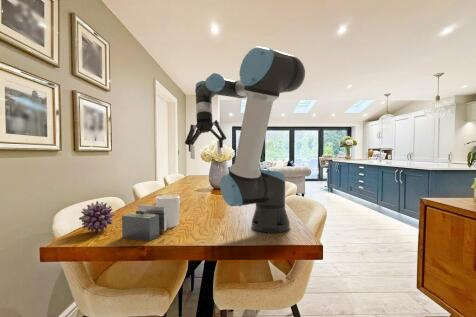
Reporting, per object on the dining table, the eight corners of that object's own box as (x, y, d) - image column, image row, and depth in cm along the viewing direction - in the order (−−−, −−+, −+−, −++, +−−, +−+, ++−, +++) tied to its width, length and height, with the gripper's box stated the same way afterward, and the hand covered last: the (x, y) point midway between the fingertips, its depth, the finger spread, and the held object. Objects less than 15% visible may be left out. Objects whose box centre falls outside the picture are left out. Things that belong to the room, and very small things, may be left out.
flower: (116, 233, 91) (115, 202, 91) (78, 239, 85) (77, 205, 84) (114, 225, 101) (113, 197, 101) (80, 230, 95) (79, 200, 94)
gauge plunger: (166, 230, 91) (165, 206, 91) (153, 236, 84) (153, 210, 84) (140, 227, 95) (140, 204, 95) (126, 233, 88) (125, 208, 88)
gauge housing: (159, 236, 87) (158, 214, 87) (149, 241, 82) (149, 217, 82) (132, 233, 91) (132, 212, 91) (122, 237, 86) (121, 215, 86)
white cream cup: (174, 229, 95) (174, 199, 95) (151, 228, 97) (151, 198, 97) (184, 222, 105) (183, 194, 105) (163, 221, 107) (162, 194, 106)
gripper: (231, 111, 115) (234, 155, 111) (185, 120, 122) (186, 161, 118) (225, 106, 108) (228, 151, 104) (177, 115, 115) (177, 158, 111)
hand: (206, 156), depth 111 cm, fingers open, 13 cm apart
